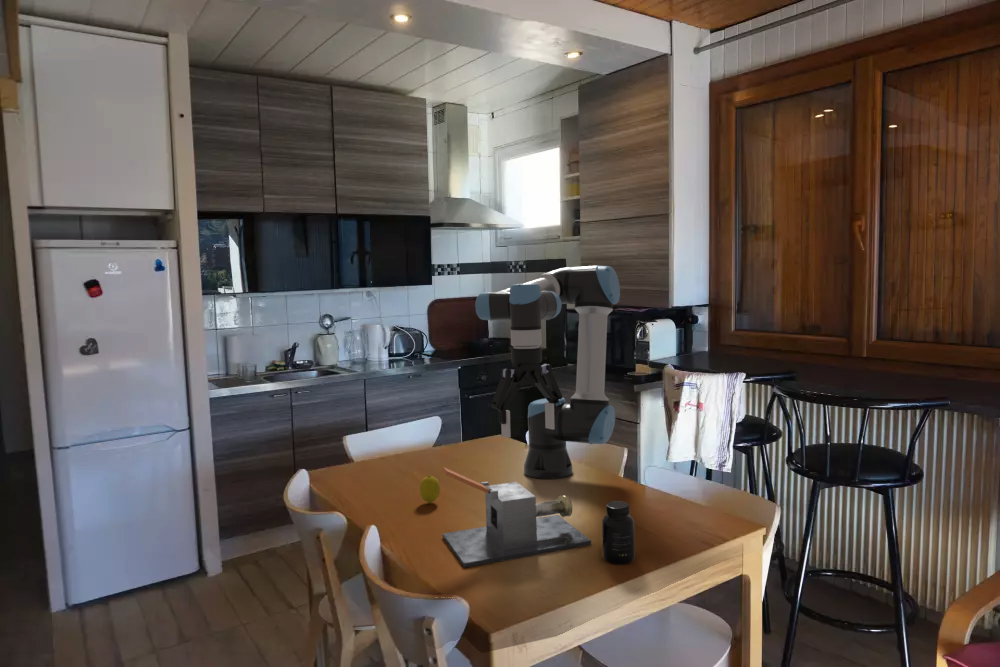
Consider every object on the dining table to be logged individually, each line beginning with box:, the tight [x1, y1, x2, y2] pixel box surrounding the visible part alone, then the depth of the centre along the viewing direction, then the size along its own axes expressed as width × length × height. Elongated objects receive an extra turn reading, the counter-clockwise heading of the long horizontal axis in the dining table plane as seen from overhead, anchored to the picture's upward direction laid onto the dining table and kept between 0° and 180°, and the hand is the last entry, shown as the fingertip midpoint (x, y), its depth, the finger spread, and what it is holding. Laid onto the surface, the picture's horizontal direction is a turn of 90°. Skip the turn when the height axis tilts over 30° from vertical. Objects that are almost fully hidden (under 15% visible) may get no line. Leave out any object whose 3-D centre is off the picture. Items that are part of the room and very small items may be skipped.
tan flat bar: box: [440, 466, 492, 494], centre depth 148 cm, size 13×4×1 cm, turn 110°
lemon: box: [419, 474, 441, 505], centre depth 180 cm, size 6×6×8 cm
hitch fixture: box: [442, 481, 592, 569], centre depth 152 cm, size 30×18×14 cm, turn 110°
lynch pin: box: [536, 494, 573, 518], centre depth 154 cm, size 16×5×5 cm, turn 110°
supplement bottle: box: [601, 500, 636, 566], centre depth 141 cm, size 7×7×12 cm
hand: (528, 432), depth 162 cm, fingers open, 13 cm apart
